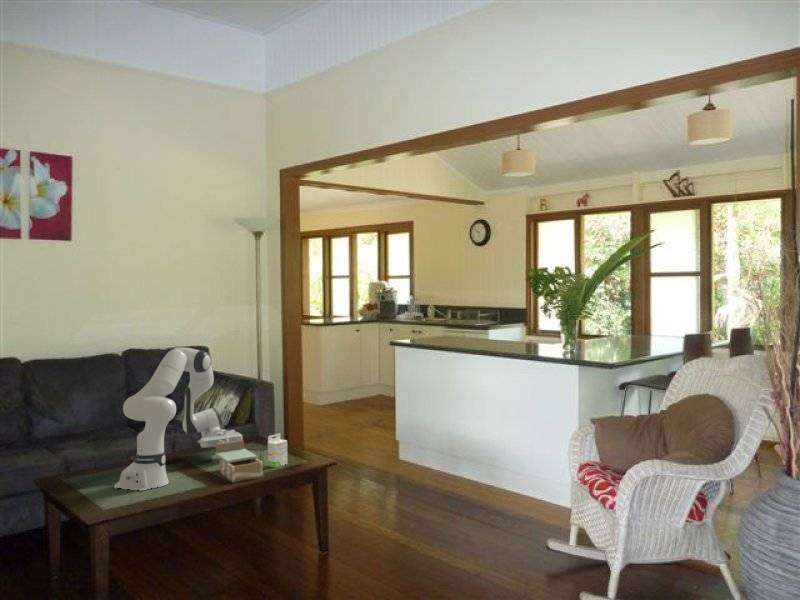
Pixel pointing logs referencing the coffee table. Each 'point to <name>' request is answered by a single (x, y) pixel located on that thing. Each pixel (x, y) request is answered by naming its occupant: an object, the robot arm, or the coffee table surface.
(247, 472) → the box
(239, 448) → the lid
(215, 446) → the robot arm
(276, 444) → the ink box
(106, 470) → the coffee table surface
